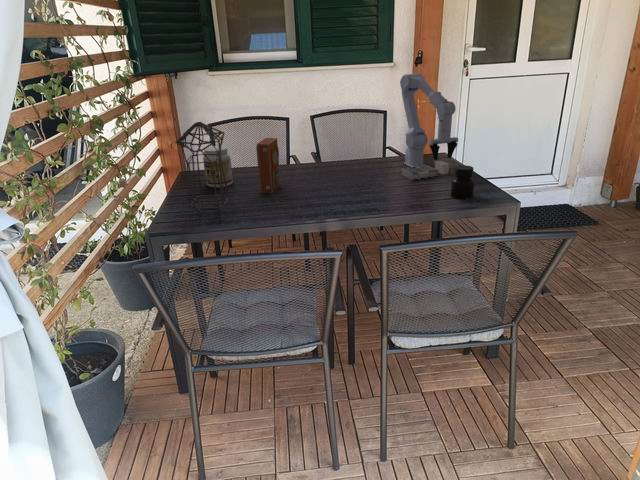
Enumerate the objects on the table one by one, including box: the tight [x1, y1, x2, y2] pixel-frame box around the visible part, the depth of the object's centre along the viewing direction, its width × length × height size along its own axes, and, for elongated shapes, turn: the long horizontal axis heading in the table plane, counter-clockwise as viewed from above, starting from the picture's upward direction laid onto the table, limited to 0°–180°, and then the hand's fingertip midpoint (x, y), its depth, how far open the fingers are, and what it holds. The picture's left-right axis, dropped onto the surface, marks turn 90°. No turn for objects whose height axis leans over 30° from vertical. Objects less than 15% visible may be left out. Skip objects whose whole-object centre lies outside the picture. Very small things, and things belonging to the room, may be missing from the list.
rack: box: [400, 164, 439, 181], centre depth 214 cm, size 10×14×3 cm
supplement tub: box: [202, 145, 234, 189], centre depth 209 cm, size 12×12×17 cm
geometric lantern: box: [174, 121, 229, 218], centre depth 170 cm, size 16×16×35 cm
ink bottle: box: [450, 164, 476, 200], centre depth 183 cm, size 10×9×12 cm
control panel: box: [255, 137, 281, 194], centre depth 199 cm, size 21×7×15 cm
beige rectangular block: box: [434, 160, 450, 174], centre depth 217 cm, size 7×3×5 cm, turn 20°
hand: (442, 158), depth 215 cm, fingers open, 7 cm apart
